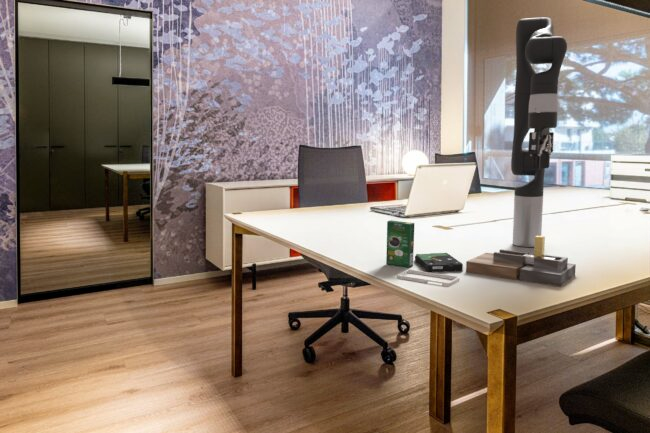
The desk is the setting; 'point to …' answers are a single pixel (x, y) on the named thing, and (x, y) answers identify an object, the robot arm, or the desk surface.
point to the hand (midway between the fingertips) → (540, 169)
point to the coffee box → (400, 243)
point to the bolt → (537, 251)
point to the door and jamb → (523, 267)
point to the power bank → (429, 275)
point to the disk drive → (438, 262)
